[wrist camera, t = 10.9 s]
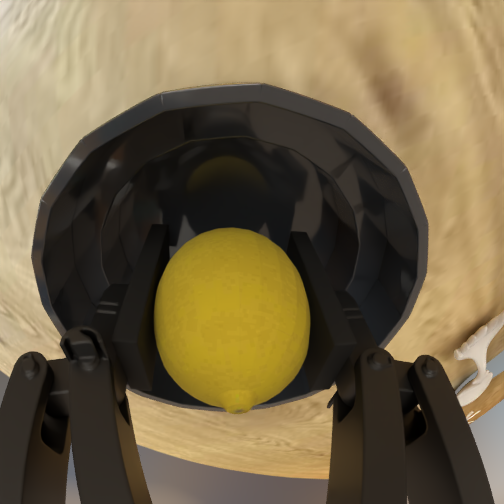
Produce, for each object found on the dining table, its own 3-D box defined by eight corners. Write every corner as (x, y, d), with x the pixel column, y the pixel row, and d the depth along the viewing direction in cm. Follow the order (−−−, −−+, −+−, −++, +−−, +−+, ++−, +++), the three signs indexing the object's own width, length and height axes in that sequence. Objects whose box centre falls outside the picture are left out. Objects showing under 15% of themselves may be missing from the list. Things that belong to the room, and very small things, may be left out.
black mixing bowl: (47, 228, 13) (-6, 297, 8) (252, 20, 9) (277, -26, 4) (219, 358, 21) (222, 430, 16) (401, 245, 16) (452, 311, 11)
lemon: (176, 294, 15) (162, 440, 8) (163, 197, 12) (108, 353, 5) (280, 292, 15) (314, 432, 9) (291, 195, 12) (365, 343, 6)
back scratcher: (504, 284, 21) (522, 306, 18) (486, 378, 37) (493, 391, 34) (441, 334, 23) (456, 360, 20) (449, 403, 39) (455, 417, 36)
